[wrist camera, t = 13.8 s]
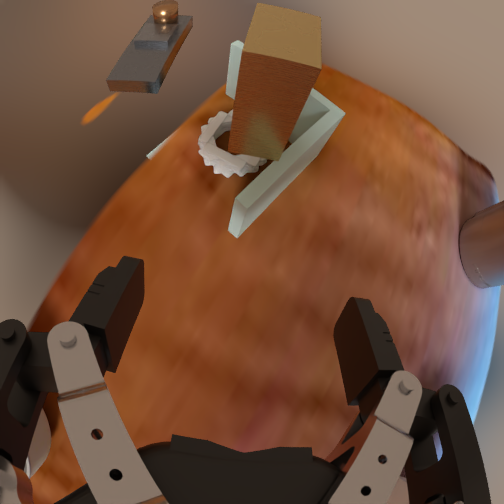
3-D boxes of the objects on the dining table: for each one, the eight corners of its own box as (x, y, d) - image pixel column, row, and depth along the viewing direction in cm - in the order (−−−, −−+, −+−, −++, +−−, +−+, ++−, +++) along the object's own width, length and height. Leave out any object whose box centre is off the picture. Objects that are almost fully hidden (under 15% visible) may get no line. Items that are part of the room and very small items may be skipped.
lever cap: (278, 161, 20) (321, 68, 11) (227, 151, 19) (242, 51, 10) (285, 107, 21) (320, 17, 12) (240, 98, 20) (257, 2, 12)
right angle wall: (231, 90, 29) (237, 40, 22) (317, 156, 29) (345, 113, 21) (146, 156, 26) (129, 108, 19) (237, 238, 26) (247, 208, 18)
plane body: (157, 93, 28) (151, 62, 23) (110, 91, 27) (99, 62, 22) (192, 26, 31) (192, -1, 26) (152, 25, 30) (149, -2, 25)
